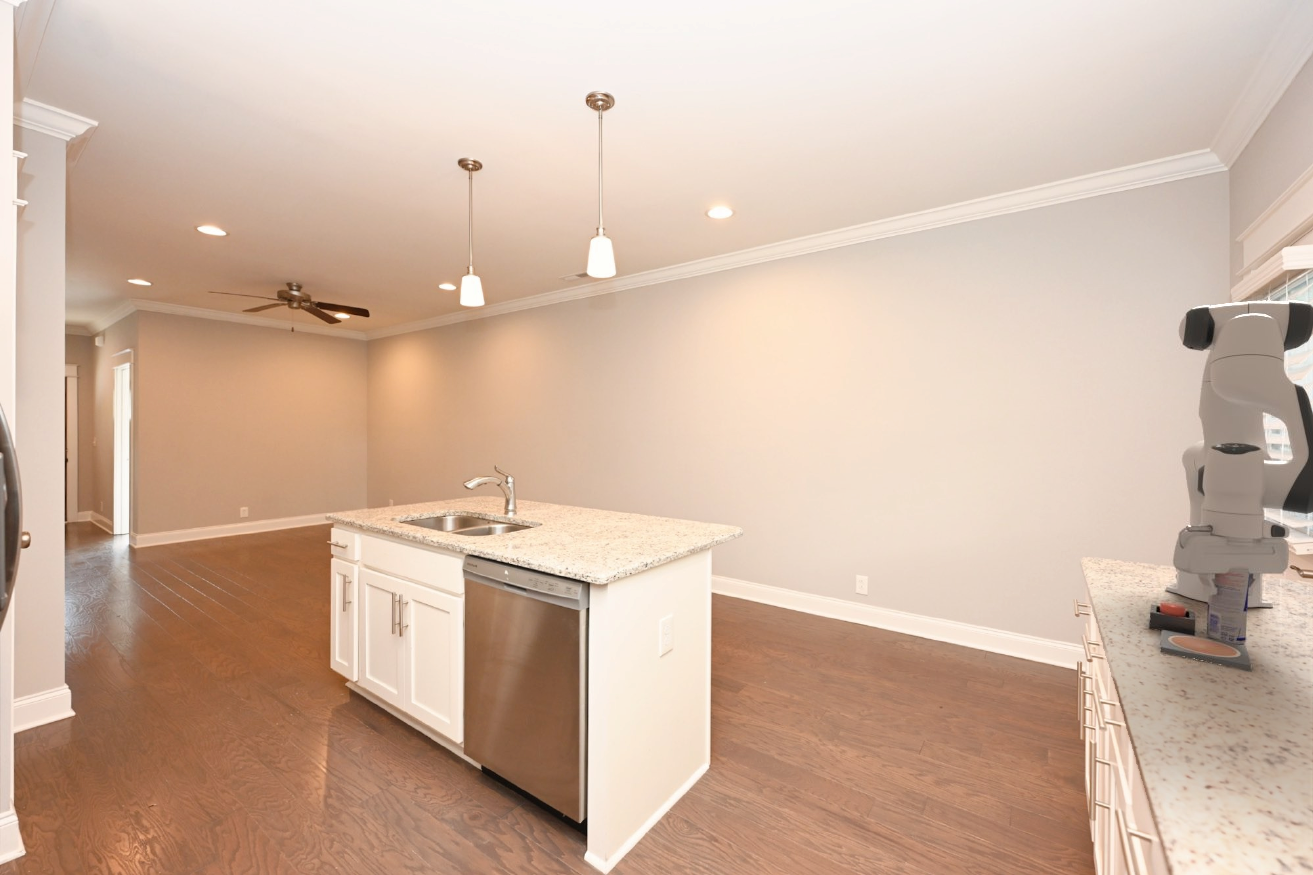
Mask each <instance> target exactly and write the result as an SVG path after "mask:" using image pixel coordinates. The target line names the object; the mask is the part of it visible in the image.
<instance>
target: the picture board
mask: <svg viewBox="0 0 1313 875" xmlns="http://www.w3.org/2000/svg"><path fill="white" fill-rule="evenodd" d="M1160 635H1161V637H1160V648H1159V649H1160V650H1159V652H1160V653H1164V654H1170V655H1172V654H1174V655H1173V656H1177V655H1178V656H1179V657H1182V656H1185V657H1184V658H1186V657H1188V658H1187V659H1191V658H1195V659H1194V660H1196V659H1197V661H1200V660H1203V661H1202V662H1205V661H1207V662H1206V663H1210V662H1212V663H1211V664H1215V665H1219V664H1221V665H1220V666H1225V667H1230V668H1234V669H1238V670H1242V669H1243V670H1244V671H1248V672H1252V663H1251V660H1250V656H1249V653H1248V650H1247V646H1246V645H1243V644H1234V643H1229V642H1223V641H1218V640H1214V639H1212V638H1209V637H1201V636H1196V635H1195V636H1193V635H1187V634H1182V633H1177V632H1172V631H1167V630H1162V631H1161V634H1160Z"/></svg>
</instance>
